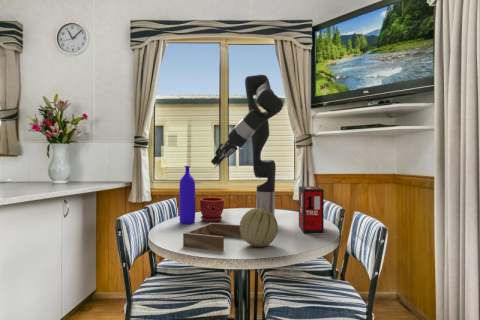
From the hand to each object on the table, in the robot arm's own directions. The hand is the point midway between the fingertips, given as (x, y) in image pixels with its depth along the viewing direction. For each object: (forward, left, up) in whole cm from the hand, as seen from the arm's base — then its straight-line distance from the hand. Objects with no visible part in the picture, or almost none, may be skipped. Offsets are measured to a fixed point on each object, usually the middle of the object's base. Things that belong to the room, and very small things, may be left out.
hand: (214, 163), depth 138 cm
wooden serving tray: (+2, +2, -32) cm, 32 cm away
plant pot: (-39, -21, -32) cm, 55 cm away
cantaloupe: (+2, +20, -32) cm, 38 cm away
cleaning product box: (-36, +33, -32) cm, 59 cm away
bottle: (-28, -30, -32) cm, 52 cm away
